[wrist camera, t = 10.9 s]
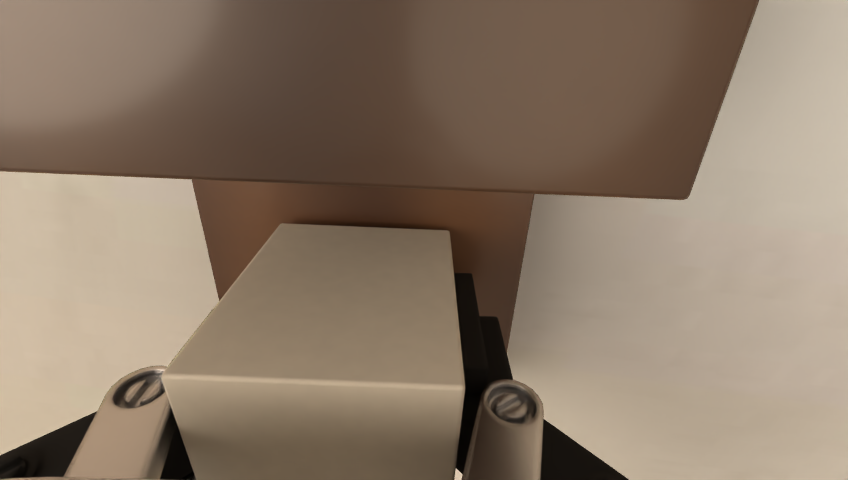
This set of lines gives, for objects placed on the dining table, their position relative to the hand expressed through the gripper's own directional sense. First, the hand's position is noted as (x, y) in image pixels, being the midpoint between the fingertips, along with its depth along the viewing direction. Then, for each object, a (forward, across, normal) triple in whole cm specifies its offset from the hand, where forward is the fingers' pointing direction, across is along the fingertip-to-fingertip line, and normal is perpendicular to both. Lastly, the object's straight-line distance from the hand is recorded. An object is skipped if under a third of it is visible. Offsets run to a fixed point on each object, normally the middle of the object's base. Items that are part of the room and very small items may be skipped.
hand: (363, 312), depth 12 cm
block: (+1, 0, 0) cm, 1 cm away
